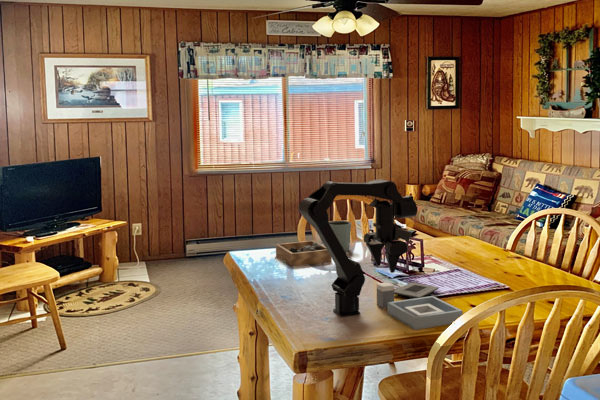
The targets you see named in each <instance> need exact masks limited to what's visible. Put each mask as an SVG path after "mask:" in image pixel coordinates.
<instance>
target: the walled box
mask: <svg viewBox="0 0 600 400" xmlns="http://www.w3.org/2000/svg"><path fill="white" fill-rule="evenodd" d="M463 313H464V312H463V310H462V309H460V308H458V307H456V306H454V305H452V304H450V303H448V302H446V301H444V300H442V299H440V298H438V297H436V296H434V295H431V296H424V297H422V298H409V299H402V300H394V302H388V308H387V314H388V315H389V316H391V317H393V318H395V319H396V320H398V321H400V322H401V323H403V324H404V325H405V326H408V327H409V328H411V329H412V330H414V331H417V330H421V329H422V330H423V329H428V328H435V327H441V326H446V325H452V324H451V323H452V322H453V321H455V320H456V319H457V318H458V317H460V316H461V315H463Z"/></svg>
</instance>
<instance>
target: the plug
mask: <svg viewBox="0 0 600 400" xmlns="http://www.w3.org/2000/svg"><path fill="white" fill-rule="evenodd" d="M394 290H395V284H392V283H390V282H388V281H387V282H379V283H376V306H378V307H379V308H381V309H388V302H394V301H395V294H394Z"/></svg>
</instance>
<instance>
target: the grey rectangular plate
mask: <svg viewBox="0 0 600 400" xmlns="http://www.w3.org/2000/svg"><path fill="white" fill-rule="evenodd" d="M439 289H440V287H439V286H434V285H427V284H423V283H419V282H418V283H417V282H410V283H407V284H405V285H403V286H401V287H398V288H396V289H394V295H395V296H396V295H397V296H401V297H402V296H403V297H405V298H406V297H407V298H410V299H415V298H422V297H427V295H430V294H431V293H434V292H436V291H437V290H439Z"/></svg>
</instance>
